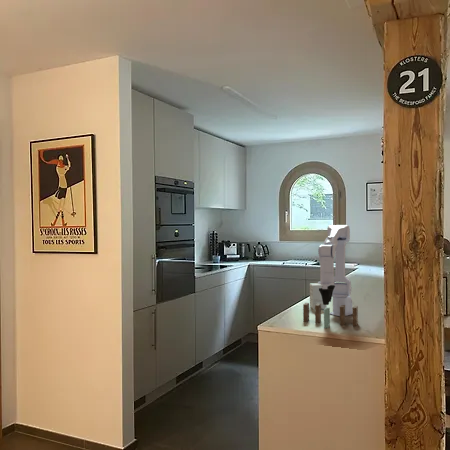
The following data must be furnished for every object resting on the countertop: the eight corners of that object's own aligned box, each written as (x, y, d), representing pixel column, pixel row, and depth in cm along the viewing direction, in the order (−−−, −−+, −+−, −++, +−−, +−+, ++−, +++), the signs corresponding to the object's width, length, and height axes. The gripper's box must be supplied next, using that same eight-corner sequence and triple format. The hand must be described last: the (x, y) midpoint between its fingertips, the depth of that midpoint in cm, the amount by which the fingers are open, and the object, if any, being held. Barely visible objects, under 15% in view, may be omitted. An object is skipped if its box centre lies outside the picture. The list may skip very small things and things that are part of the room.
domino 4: (339, 324, 207) (339, 306, 207) (341, 322, 212) (341, 304, 212) (343, 325, 207) (343, 307, 207) (345, 322, 211) (345, 305, 211)
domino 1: (303, 321, 214) (303, 304, 214) (305, 319, 218) (305, 302, 218) (306, 322, 213) (306, 304, 213) (309, 319, 218) (309, 302, 218)
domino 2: (315, 322, 212) (315, 305, 212) (317, 320, 216) (317, 303, 216) (318, 323, 211) (318, 305, 211) (321, 320, 216) (320, 303, 215)
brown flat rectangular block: (352, 325, 205) (352, 307, 205) (354, 323, 210) (353, 305, 210) (356, 326, 205) (356, 307, 205) (357, 323, 209) (357, 305, 209)
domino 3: (324, 327, 202) (323, 309, 202) (326, 325, 207) (326, 307, 207) (327, 328, 202) (327, 309, 201) (329, 325, 206) (329, 307, 206)
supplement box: (323, 306, 249) (323, 282, 248) (326, 309, 241) (326, 284, 241) (309, 306, 248) (309, 283, 248) (312, 309, 241) (312, 285, 241)
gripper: (320, 270, 212) (320, 299, 212) (315, 273, 198) (315, 305, 198) (336, 270, 209) (336, 300, 209) (332, 274, 196) (332, 306, 196)
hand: (327, 303), depth 204 cm, fingers open, 7 cm apart
